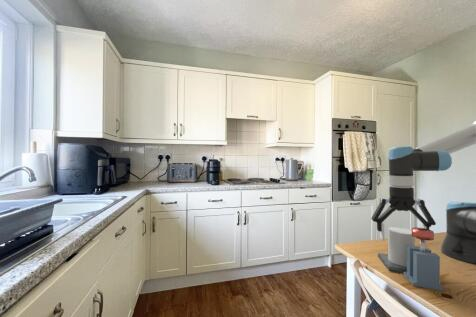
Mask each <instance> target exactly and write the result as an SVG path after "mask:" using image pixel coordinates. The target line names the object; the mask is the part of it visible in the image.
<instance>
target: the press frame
mask: <svg viewBox="0 0 476 317" xmlns="http://www.w3.org/2000/svg"><path fill="white" fill-rule="evenodd" d="M440 258H441V257H440V255H438V254H437V253H436V252H432V249H430V248H428V247H426V246H425V252H420V246H416V245H415V246H407V272H403V273H402V275H403V276H404V277H405V278H406V279H407V281H408V282H409V283H410V284H411V286H413V287H419V288H424V289H425V288H426V289H431V290H432V289H433V290H440V291H444V290H445V289H444V286H443V285H442V284H441V283H440V281H441V280H440V279H441V278H440V277H441V274H440V272H441V270H440V268H441V261H440V260H441V259H440Z"/></svg>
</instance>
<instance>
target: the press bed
mask: <svg viewBox="0 0 476 317" xmlns="http://www.w3.org/2000/svg"><path fill="white" fill-rule="evenodd" d="M377 257H378V259H379V260H380V261H381V262H382V264H383V265H384V266H385V267H386V269H387V271H389V272H395V273H402V274H403V272H407V267H406V266H401V265H397V264H395V263H392V262H391V261H389V259H388V253H383V252H377Z"/></svg>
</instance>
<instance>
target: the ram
mask: <svg viewBox="0 0 476 317" xmlns="http://www.w3.org/2000/svg"><path fill="white" fill-rule="evenodd" d="M411 231H412V236H413V237H415V239H418V240H419V247H420V252H425V247H426V244H425V240H427V241H434V240H435V238H434V236H435V234H434V233H435V232H434V230H431V229H430V228H429V229H424V228H420V227H411Z"/></svg>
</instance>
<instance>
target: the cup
mask: <svg viewBox="0 0 476 317" xmlns="http://www.w3.org/2000/svg"><path fill="white" fill-rule="evenodd" d="M387 229H388V231H387V232H388V233H387V238H388V239H387V240H388V244H387V248H388V253H387V254H388V259H389V261H391V262H392V263H395V264H397V265H401V266H406V267H407V246H416V244H415V243H416V238H415V237H413V236H412V229H408V228H404V227H397V226H395V227H393V226H390V227H388V228H387Z"/></svg>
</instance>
